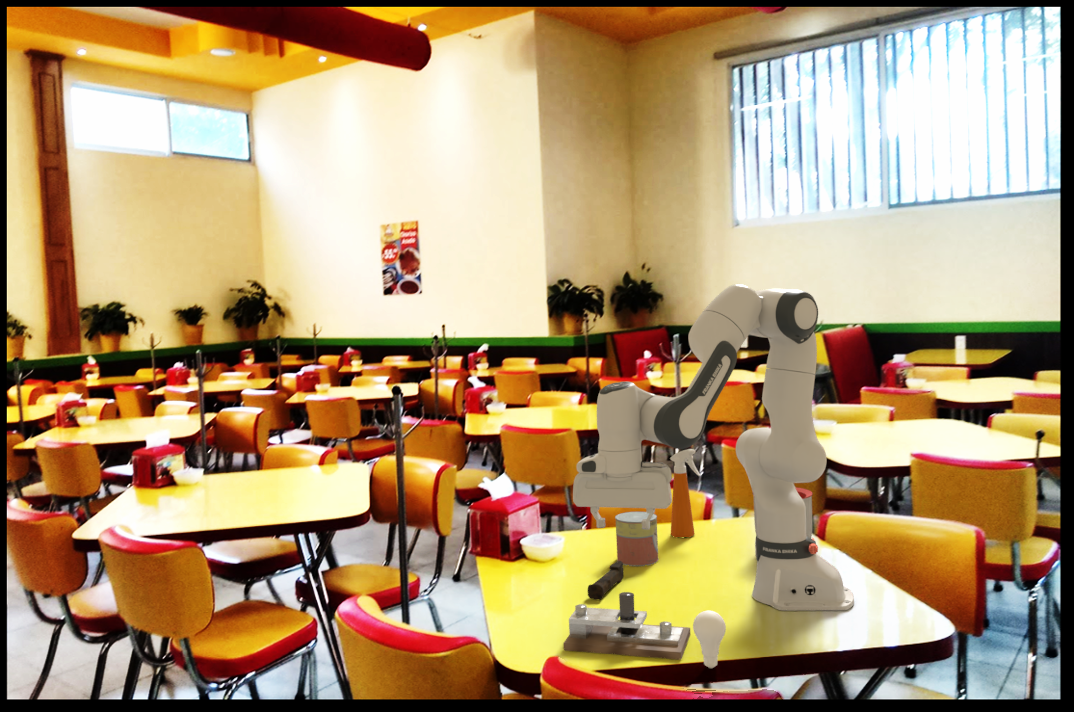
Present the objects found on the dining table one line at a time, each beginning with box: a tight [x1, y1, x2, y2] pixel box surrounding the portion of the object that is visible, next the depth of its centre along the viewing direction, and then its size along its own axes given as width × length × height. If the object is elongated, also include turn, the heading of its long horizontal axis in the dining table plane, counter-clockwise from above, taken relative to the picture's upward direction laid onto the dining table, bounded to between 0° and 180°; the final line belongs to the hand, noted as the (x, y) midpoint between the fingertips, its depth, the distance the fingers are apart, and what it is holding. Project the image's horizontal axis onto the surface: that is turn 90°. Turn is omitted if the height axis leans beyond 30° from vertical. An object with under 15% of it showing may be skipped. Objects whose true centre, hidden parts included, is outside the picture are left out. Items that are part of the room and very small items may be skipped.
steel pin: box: [618, 591, 636, 635], centre depth 178 cm, size 3×3×8 cm
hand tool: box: [587, 560, 624, 601], centre depth 213 cm, size 19×4×5 cm, turn 151°
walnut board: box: [563, 623, 691, 661], centre depth 179 cm, size 24×13×2 cm, turn 72°
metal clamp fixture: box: [568, 603, 683, 646], centre depth 178 cm, size 22×7×6 cm, turn 72°
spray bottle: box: [669, 448, 701, 538], centre depth 254 cm, size 7×11×26 cm, turn 42°
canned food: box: [614, 511, 660, 567], centre depth 234 cm, size 11×11×12 cm
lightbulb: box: [692, 610, 727, 669], centre depth 164 cm, size 6×6×11 cm
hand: (623, 528), depth 177 cm, fingers open, 8 cm apart
